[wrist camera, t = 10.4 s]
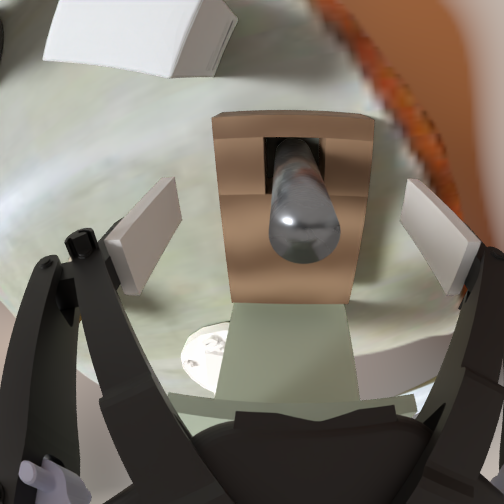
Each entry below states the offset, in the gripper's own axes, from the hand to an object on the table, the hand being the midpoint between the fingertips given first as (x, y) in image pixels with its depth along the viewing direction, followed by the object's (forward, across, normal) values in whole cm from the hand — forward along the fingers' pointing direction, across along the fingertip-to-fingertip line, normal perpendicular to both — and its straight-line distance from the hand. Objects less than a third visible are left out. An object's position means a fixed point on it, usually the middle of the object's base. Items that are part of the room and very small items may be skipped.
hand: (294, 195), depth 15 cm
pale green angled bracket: (+10, -1, +14) cm, 17 cm away
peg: (+11, 0, +1) cm, 11 cm away
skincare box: (+11, +10, -12) cm, 19 cm away
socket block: (+10, 0, +5) cm, 12 cm away
